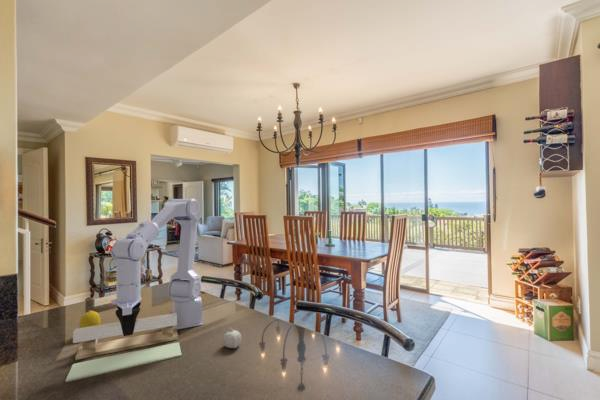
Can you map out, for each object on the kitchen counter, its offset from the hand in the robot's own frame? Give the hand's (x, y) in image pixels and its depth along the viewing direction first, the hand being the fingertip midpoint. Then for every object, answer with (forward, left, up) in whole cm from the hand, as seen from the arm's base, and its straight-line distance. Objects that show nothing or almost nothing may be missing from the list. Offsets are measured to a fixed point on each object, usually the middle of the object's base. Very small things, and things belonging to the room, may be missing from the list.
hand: (128, 332), depth 80 cm
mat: (0, 0, -8) cm, 8 cm away
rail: (0, 0, 0) cm, 0 cm away
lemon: (+12, -23, -8) cm, 27 cm away
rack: (0, -10, -8) cm, 13 cm away
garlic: (-27, +5, -8) cm, 29 cm away
